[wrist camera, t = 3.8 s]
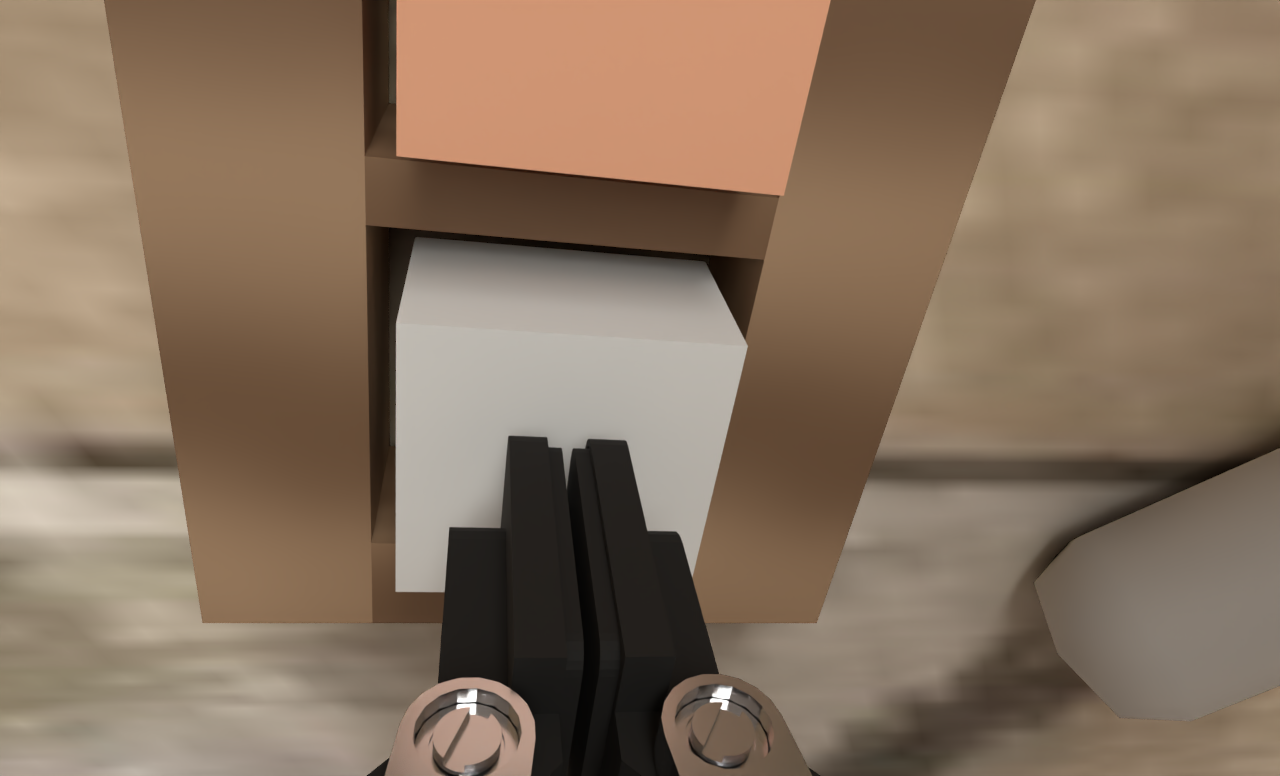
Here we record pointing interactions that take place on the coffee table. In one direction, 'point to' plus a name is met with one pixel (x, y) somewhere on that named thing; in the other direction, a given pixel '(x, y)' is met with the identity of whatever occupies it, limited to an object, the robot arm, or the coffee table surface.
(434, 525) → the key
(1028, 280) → the coffee table surface
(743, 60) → the key mid
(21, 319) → the coffee table surface
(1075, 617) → the tube
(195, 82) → the wooden tray
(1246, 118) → the coffee table surface
